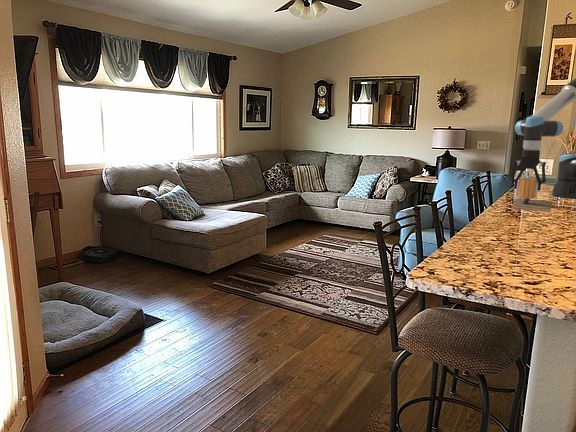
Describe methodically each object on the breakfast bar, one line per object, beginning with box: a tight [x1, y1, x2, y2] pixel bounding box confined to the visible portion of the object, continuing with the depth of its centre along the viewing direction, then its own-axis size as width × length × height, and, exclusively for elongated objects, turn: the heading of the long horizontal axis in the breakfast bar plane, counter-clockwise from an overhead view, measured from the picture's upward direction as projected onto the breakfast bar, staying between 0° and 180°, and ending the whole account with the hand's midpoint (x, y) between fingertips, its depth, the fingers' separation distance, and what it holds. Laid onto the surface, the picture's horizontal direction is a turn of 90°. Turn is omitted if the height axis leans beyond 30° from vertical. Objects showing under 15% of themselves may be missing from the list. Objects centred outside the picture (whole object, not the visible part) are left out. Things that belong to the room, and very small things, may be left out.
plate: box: [510, 199, 553, 213], centre depth 220 cm, size 30×16×2 cm, turn 149°
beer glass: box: [513, 170, 530, 200], centre depth 240 cm, size 7×7×15 cm
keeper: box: [526, 175, 557, 184], centre depth 227 cm, size 14×3×2 cm, turn 59°
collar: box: [517, 178, 538, 200], centre depth 222 cm, size 8×8×9 cm
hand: (526, 196), depth 223 cm, fingers closed on collar, 8 cm apart
